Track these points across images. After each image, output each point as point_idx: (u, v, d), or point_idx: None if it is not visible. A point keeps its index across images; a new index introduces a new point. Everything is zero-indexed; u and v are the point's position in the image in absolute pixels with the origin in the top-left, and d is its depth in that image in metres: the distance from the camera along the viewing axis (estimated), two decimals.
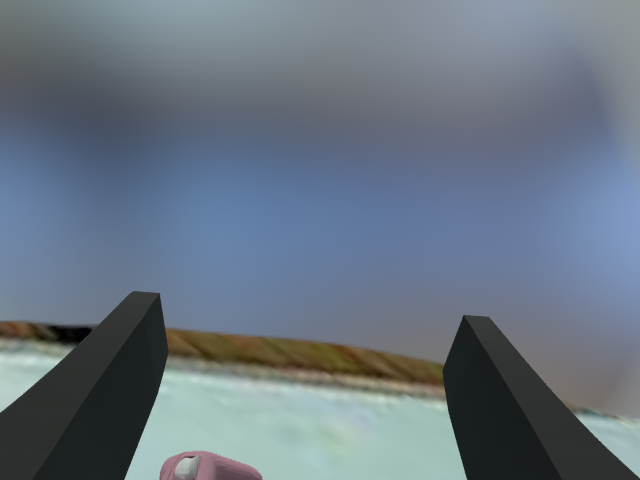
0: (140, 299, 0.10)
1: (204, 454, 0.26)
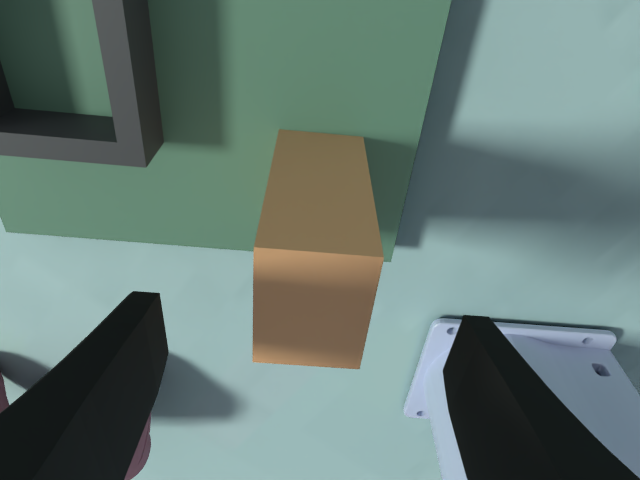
0: (140, 300, 0.10)
1: None
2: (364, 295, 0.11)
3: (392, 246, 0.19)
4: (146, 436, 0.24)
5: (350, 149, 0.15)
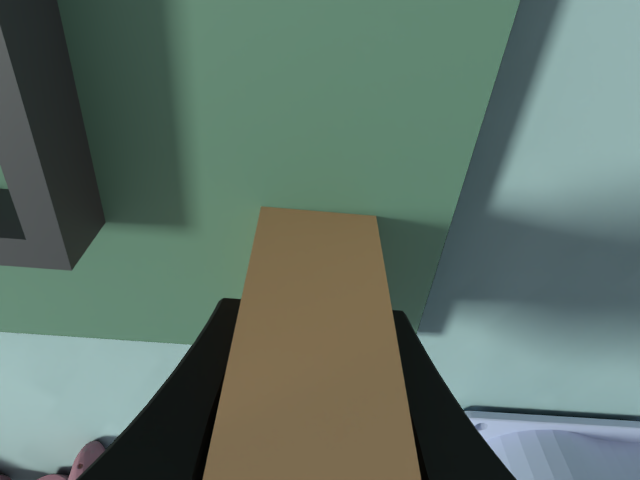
0: (234, 307, 0.10)
1: None
2: None
3: None
4: None
5: (360, 242, 0.11)
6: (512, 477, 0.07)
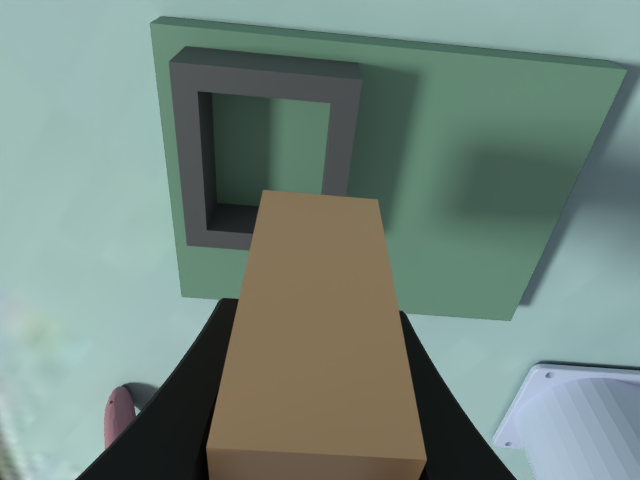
0: (234, 307, 0.10)
1: None
2: None
3: (514, 308, 0.22)
4: None
5: (362, 223, 0.11)
6: (512, 477, 0.07)
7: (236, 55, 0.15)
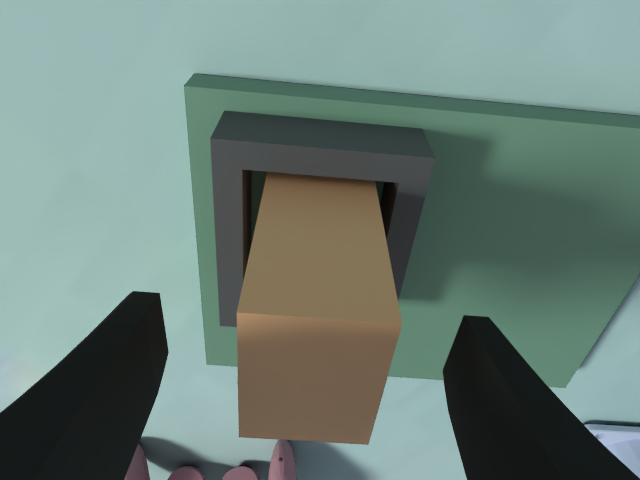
0: (140, 299, 0.10)
1: None
2: (376, 366, 0.09)
3: (571, 376, 0.20)
4: None
5: None
6: None
7: (284, 123, 0.13)
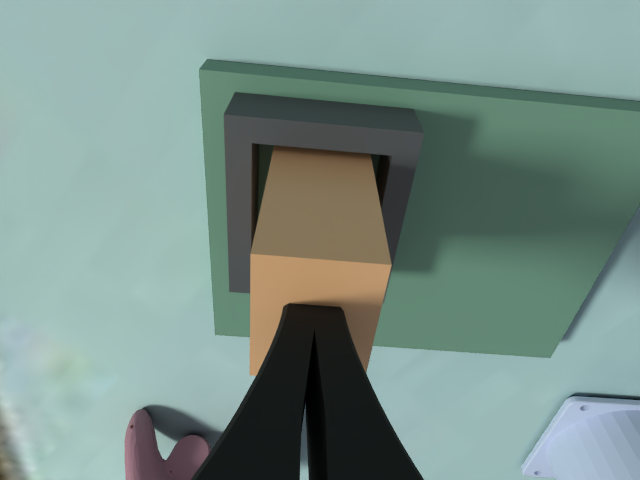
0: (301, 311, 0.10)
1: None
2: (370, 305, 0.10)
3: (555, 346, 0.21)
4: None
5: None
6: (414, 472, 0.07)
7: (289, 103, 0.14)
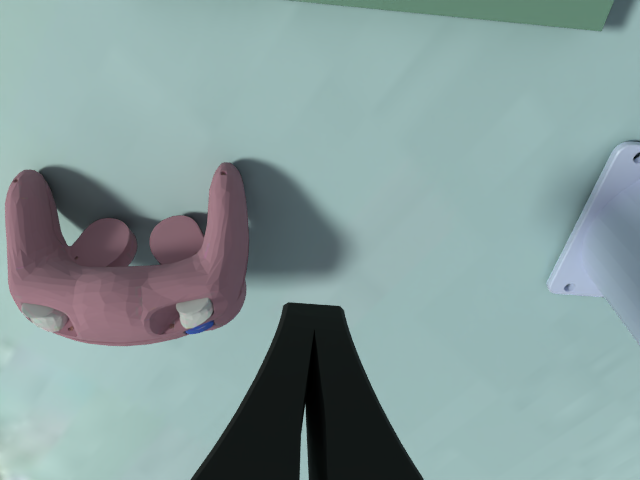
0: (301, 311, 0.10)
1: (15, 297, 0.18)
2: None
3: (610, 3, 0.15)
4: (245, 267, 0.19)
5: None
6: (414, 472, 0.07)
7: None
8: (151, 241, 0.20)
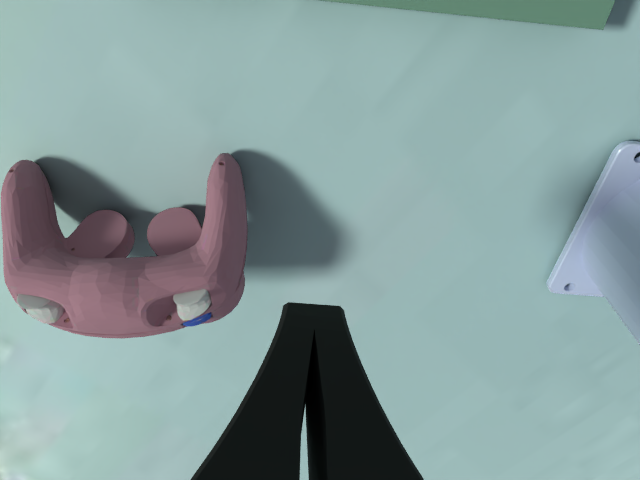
0: (301, 311, 0.10)
1: (11, 287, 0.17)
2: None
3: (612, 2, 0.15)
4: (244, 258, 0.19)
5: None
6: (414, 472, 0.07)
7: None
8: (148, 233, 0.20)
